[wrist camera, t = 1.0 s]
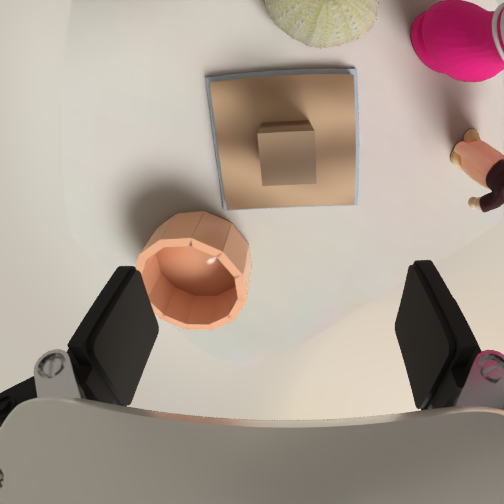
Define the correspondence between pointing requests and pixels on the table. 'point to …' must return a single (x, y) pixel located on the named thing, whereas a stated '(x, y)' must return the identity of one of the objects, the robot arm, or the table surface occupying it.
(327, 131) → the lid
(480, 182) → the grandmother figurine
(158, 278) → the bowl
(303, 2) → the sea urchin shell
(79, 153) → the table surface
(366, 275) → the table surface
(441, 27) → the pepper mill
